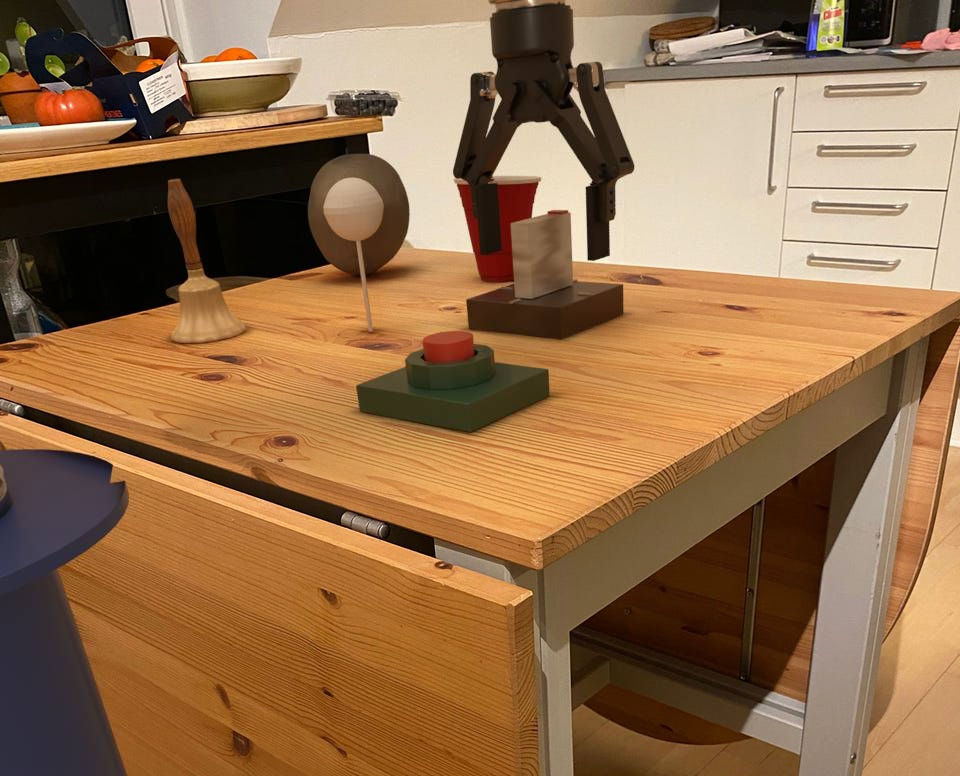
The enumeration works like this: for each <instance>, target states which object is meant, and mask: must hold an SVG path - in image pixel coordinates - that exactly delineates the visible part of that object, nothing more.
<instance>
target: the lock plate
mask: <svg viewBox="0 0 960 776" xmlns="http://www.w3.org/2000/svg"><path fill="white" fill-rule="evenodd" d="M465 303H466V314H467V326H468V329H469V330H475V331H483V332H484V331H485V332H494V333H502V334H503V333H504V334H511V335H512V334H513V335H522V336H528V337H529V336H530V337H539V338H548V339H557V340H563V339H566V338H568V337H570V336H573V335H575V334H577V333H580V332H583V331H585V330H588V329H591V328H592V327H595V326H597V325H600V324H602V323H605V322H607V321H610V320H612V319H614V318H617V317H620V316H622V315H624V313H625V312H624V311H625V310H624V284H623V283H610V282H597V281H596V282H594V281H581V280H580V281H579V280H578V278H573V285H571V286H568V287H565V288H562V289H559V290H557V291H554V292H551V293H548V294H545V295H542V296H539V297H536V298H533V299H527V298H516V297H515V286H514V283H511V284H509V285H505V286H501V287H499V288H496V289H494V290H491V291H487V292H483V293H481V294H479V295H475V296H472V297H468V298H466V299H465Z"/></svg>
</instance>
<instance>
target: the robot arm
mask: <svg viewBox="0 0 960 776" xmlns="http://www.w3.org/2000/svg"><path fill="white" fill-rule="evenodd" d="M487 1H488V3H489V5H490V6H494V7H495V12H492V13H491V16H490V17H489V28H490V41H491V42H490V43H491V55H492V57H493V58H494V59H495V60H496V64H497V68H496V73H495V72H493V71H492V70H491V71H483V72H474V73H471V75H470V81H469V82H470V83H469V84H470V85H469V86H470V87H469V91H470V92H469V95H470V96H469V98H470V99H469V102H468V103H469V104H468V107H467V111H466V116H465V119H464V124H463V129H462V132H461V136H460V140H459V144H458V147H457V152H456V157H455V161H454V164H453V169H452V175H453V177H454V178H456V179H460V178H461V179H463V180H465V181H467V182H468V184H469V185H470V188H471V199H472V212H473V216H474V219H478V232H479V245H480V255H488V254H492V253H495V252H499V251H502V240H501V225H500V211H499V196H498V183H490V184H488V182H492V181H494V180H495V179H492V178H493V177H492V176H494V174H495V172H496V170H497V167H498V166H499V164H500V162H501V160H502V159H503V156H504V155H505V152H506V150H507V149H508V146H509V144H510V143H511V141H512V139H513V138H514V135H515V134H516V131H517V129H518V128H519V127H520V126H522V124H528V123H538V124H539V123H548V122H549V123H550V124H551V125H552V126H553V127H555V128H556V129H557V130H558V131H559V133H560V134H561V135H562V137H563V139H564V140H565V142H566V143H567V145H568V146H569V148H570V149H571V151H572V152H573V154H574V155H575V157H576V159H577V160H578V161H579V163H580V164H581V166H582V167H583V169H584V171H585V172H586V173H587V175H588V176H589V178H590V180H591V182H590V183H589V185H587V186H586V185H585V211H586V212H585V215H586V217H585V218H586V219H585V220H586V222H585V223H586V253H587V254H586V256H587V258H586V259H587V261H588V262H589V261H590V262H594V261H598V260H601V259H604V258H608V257H610V256H611V243H610V241H611V240H610V239H611V238H610V236H611V235H610V222H611V221H614V220H615V218H616V215H617V213H616V212H617V210H616V209H617V208H616V207H617V206H616V201H617V200H616V184H617V182H618V181H619V180H620V179H622V178H624V177H625V176H628V175H631V174H633V172H634V171H635V168H636V167H635V163H634V160H633V157H632V155H631V152H630V150H629V147H628V145H627V142H626V140H625V137H624V134H623V132H622V129H621V127H620V124H619V121H618V119H617V117H616V114H615V112H614V109H613V106H612V104H611V101H610V98H609V96H608V93H607V91H606V89H605V88H606V87H605V76H604V69H603V68H604V67H603V64H602V63H601V62H599V61H590V62H589V61H588V62H581V63H579V64H578V65H576V66H575V67H574V66H573V65H574V64H573V62H572V51H573V50H574V46H575V35H574V33H575V32H574V31H575V30H574V9H573V8H571V5H570V4H566V0H487ZM573 89H574V90H576V91H577V92H578V97H579V100H580V103H581V106H582V108H583V110H584V113H585V116H586V118H587V120H588V123H589V126H590V127H589V126H588V125H587V123H586V122H585V119H584V118H583V117H582V111H581V109H580V108H579V106H578V104H577V103H576V101H575V100H574V99H573V97H572V95H571V92H572V90H573ZM497 95H498V96H499V97H500V102H499V104H498V106H497V108H496V110H495V112H494V109H495V104H496V98H497ZM493 113H494V114H493ZM491 119H492V121H493V122H492V124H491V127H490V123H491ZM489 127H490V128H489ZM590 128H591V129H590ZM11 502H12V501H11V496H10V493H9V490H8V488H7V485H6V482H5V479H4V477H3V468H2V467H1V465H0V518H1V517H2V516H3V515H4V514H5V513H6V512H7V511H8V509H9V508H10V506H11Z"/></svg>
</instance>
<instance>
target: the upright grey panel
mask: <svg viewBox="0 0 960 776" xmlns="http://www.w3.org/2000/svg"><path fill="white" fill-rule="evenodd" d="M511 238H512V254H513V270H514V280H513V284H514V286H515V297H516V298H527V299H533V298H536V297H539V296H542V295H545V294H548V293H551V292H554V291H557V290H559V289H562V288H565V287H568V286H571V285H573V280H574V269H573V267H574V266H573V241H572V240H573V239H572V238H573V237H572V213H571V212H570V211H569V210H568V209H551V210H548V211H547V213H545V214H542V215H537V216H532V218H529V219H525V220H522V221H518V222H514V223H511Z"/></svg>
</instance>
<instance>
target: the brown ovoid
mask: <svg viewBox="0 0 960 776" xmlns="http://www.w3.org/2000/svg"><path fill="white" fill-rule="evenodd" d="M345 178H359V179H362V180H364V181H367V182H368V183H369V184H371V185H372V186H373V187H374V188H375V189H376V191H377V192H378V194H379V195H380V197H381V199H382V200H383V205H384V209H383V216H382V221H381V223H380V226H379V227H378V229H377V231H376V232H375V233H374V234H373V235H371V236H370V237H369V238H366V239H364V240H361V248H362V255H363V263H364V270H365V276H366V275H370V274H373V273H375V272H377V271H378V270H380V269H381V268H383V267H384V266H385V265H387V264H388V263H389V262H391V261H392V260H393V259H394V258H395V257H396V256H397V254H398V252H399V251H400V249H401V248H402V246H403V244H404V242H405V240H406V237H407V236H408V235H407V234H408V231H409V225H410V218H411V217H410V213H411V212H410V201H409V196H408V194H407V189H406V187H405V185H404V183H403V180H402V178H401V175H399V173H398V171H397V170H396V169H395V168H394V166H393V165H391V164H390V163H389V162H388V161H386V160H385V159H384V158H382V157H380V156H377V155H374V154H370V153H350V154H342V155H339V156H337V157H336V158H333V159H331V160H329V161H327V162H326V163H325V164H324V165H322V167H320V169H319V170H318V172H316V174H315V177H314V178H313V180H312V183H311V186H310V192H309V197H308V203H307V219H308V224H309V229H310V232H311V235H312V237H313V240H314V241H315V244H316V246H317V247H318V249H319V251H320V252H321V254H322V256H323V257H324V259H325V260H326V261H327V262H328V263H330V264H331V265H332V266H333V267H334V268H336V269H337V270H338V271H340V272H342V273H344V274H348V275H351V276H361V273H360V266H359V259H358V252H357V244H356V241H351V240H346V239H344V238H342V237H340V236H339V235H337V234H336V233H335V232H334V231H333V230H332V228H331V227H330V225H329V224H328V221H327V219H326V217H325V215H324V208H323V207H324V203H325V200H326V197H327V194H328V192H329V190H330V189H331V188H332V187H333V185H334V184H336V183H337V182H338V181H340V180H343V179H345Z"/></svg>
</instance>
